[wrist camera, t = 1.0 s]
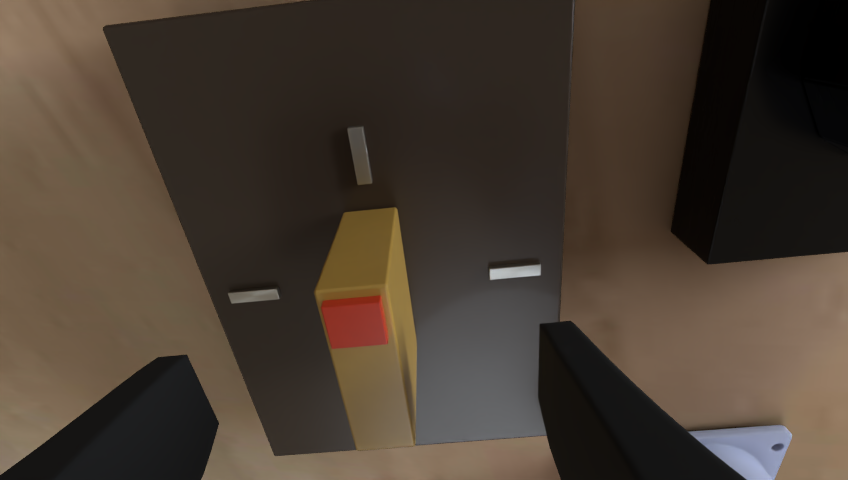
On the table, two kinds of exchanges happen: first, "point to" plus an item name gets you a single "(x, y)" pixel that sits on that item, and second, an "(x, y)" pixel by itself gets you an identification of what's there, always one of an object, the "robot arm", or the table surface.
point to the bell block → (768, 133)
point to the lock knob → (371, 328)
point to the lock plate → (369, 189)
